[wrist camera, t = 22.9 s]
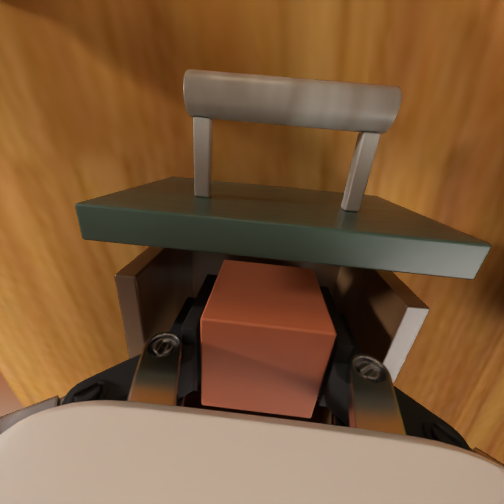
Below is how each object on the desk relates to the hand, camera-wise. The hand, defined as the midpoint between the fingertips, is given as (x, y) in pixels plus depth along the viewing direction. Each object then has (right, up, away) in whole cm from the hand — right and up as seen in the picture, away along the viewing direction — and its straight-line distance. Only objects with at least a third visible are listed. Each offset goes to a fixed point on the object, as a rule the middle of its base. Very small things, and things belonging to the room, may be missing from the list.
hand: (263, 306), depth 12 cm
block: (0, 0, +1) cm, 1 cm away
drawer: (0, +2, +4) cm, 4 cm away
